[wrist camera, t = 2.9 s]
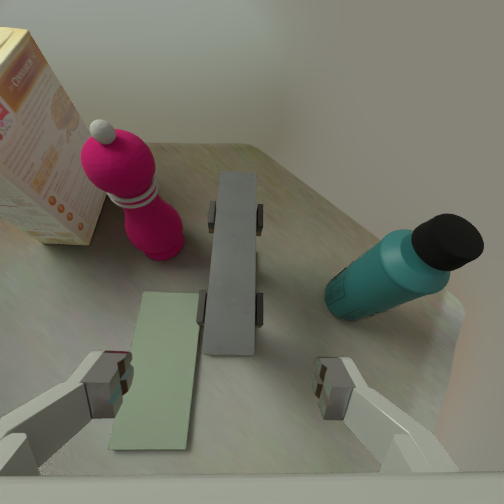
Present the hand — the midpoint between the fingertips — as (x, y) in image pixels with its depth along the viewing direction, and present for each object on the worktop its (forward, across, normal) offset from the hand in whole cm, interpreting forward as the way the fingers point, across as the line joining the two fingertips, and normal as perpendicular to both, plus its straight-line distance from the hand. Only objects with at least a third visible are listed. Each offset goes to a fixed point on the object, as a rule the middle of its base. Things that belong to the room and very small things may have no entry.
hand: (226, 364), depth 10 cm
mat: (+15, +8, +15) cm, 23 cm away
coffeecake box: (+31, +25, -1) cm, 40 cm away
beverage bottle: (+21, -16, +9) cm, 28 cm away
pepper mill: (+27, +11, +4) cm, 29 cm away
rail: (+12, 0, 0) cm, 12 cm away
